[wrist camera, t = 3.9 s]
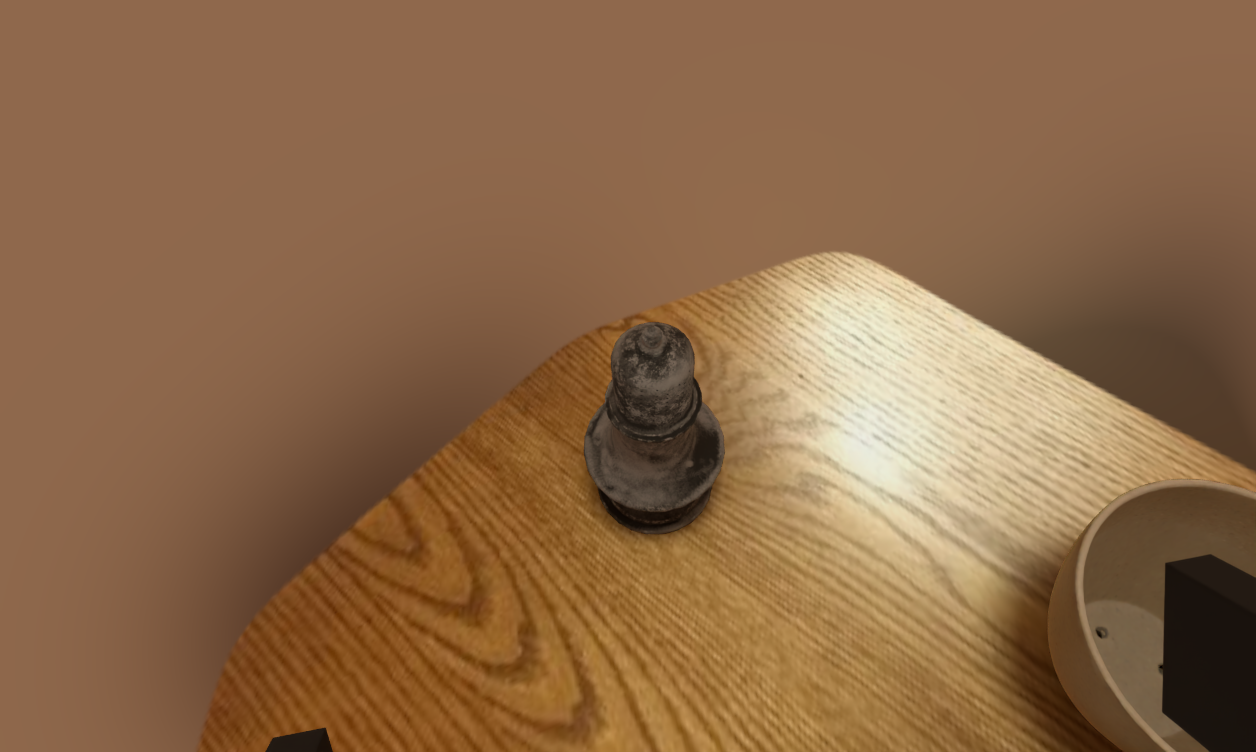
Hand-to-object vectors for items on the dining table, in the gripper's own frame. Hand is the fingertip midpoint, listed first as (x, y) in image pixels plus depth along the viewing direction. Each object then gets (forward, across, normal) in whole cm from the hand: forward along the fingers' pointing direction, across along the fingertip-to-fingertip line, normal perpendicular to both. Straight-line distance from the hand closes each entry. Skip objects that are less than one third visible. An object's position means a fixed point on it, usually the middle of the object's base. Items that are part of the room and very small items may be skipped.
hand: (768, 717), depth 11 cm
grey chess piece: (+22, 0, -5) cm, 22 cm away
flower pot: (+14, +17, -13) cm, 25 cm away
